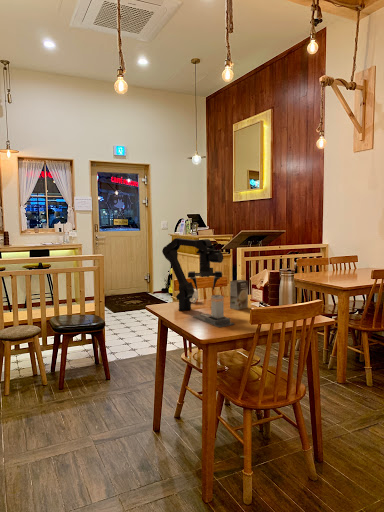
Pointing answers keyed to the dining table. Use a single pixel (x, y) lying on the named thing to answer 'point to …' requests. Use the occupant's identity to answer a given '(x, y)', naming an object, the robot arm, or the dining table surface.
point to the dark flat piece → (217, 323)
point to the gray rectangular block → (217, 307)
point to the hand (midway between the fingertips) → (205, 289)
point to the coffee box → (238, 294)
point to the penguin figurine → (194, 296)
